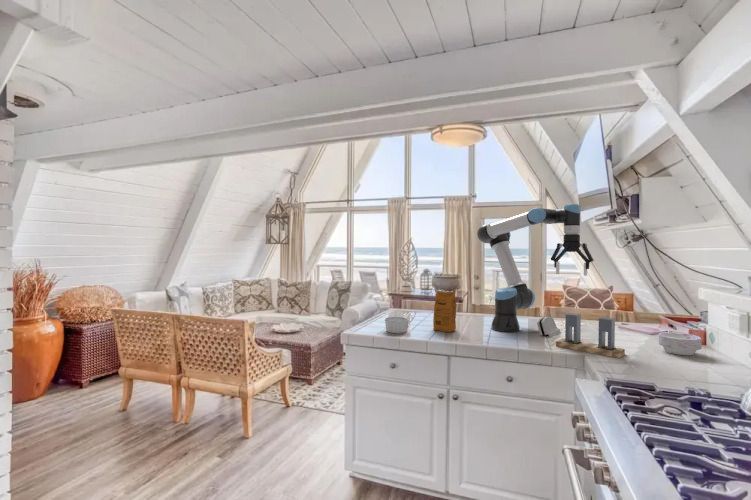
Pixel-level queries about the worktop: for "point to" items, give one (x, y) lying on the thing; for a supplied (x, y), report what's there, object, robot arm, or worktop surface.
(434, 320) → the coffee package
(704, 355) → the worktop surface
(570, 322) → the seated clip
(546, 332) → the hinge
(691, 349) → the paper bowls
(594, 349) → the oak rail
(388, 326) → the ramekin
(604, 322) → the steel clip
